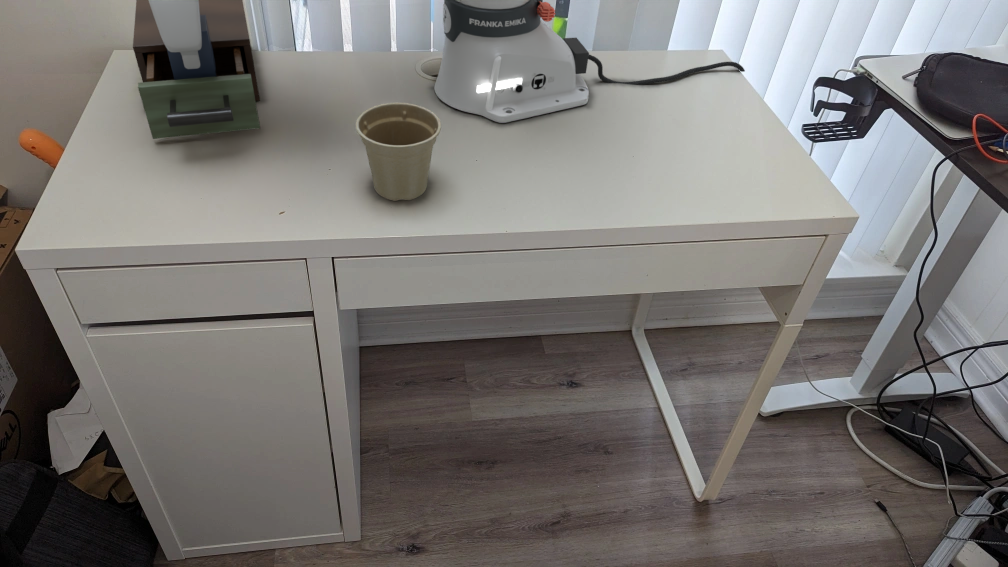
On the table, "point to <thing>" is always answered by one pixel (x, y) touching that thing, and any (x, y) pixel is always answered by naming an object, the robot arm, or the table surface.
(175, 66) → the block
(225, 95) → the drawer
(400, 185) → the flower pot
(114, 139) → the table surface
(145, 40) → the cabinet
